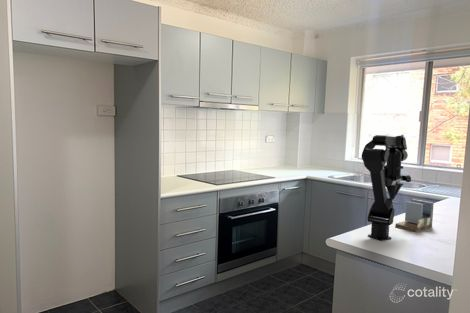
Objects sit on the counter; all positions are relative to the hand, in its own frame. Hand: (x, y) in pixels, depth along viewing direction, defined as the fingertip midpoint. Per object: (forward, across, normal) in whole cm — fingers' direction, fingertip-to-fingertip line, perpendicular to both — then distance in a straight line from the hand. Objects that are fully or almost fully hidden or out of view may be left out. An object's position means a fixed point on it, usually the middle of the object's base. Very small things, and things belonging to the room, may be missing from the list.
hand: (391, 199), depth 153 cm
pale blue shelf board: (+12, -13, +5) cm, 18 cm away
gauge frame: (+14, -13, +3) cm, 19 cm away
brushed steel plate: (+12, -19, +3) cm, 23 cm away
